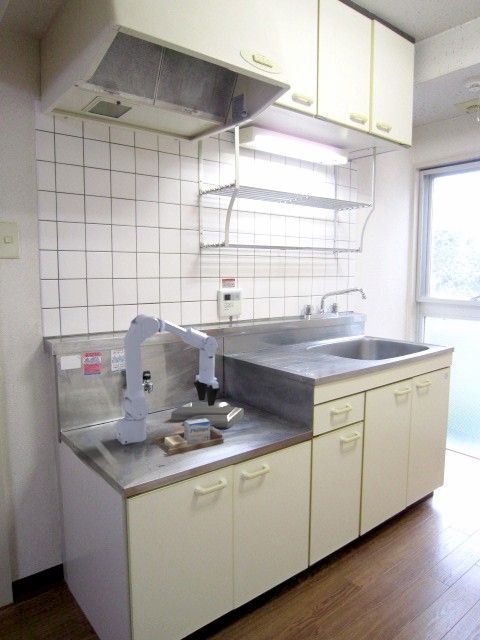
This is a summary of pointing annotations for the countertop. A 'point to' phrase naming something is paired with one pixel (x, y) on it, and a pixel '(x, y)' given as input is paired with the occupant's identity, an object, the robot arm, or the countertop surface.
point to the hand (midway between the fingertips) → (206, 402)
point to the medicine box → (196, 431)
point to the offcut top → (175, 441)
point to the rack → (213, 434)
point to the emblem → (209, 413)
